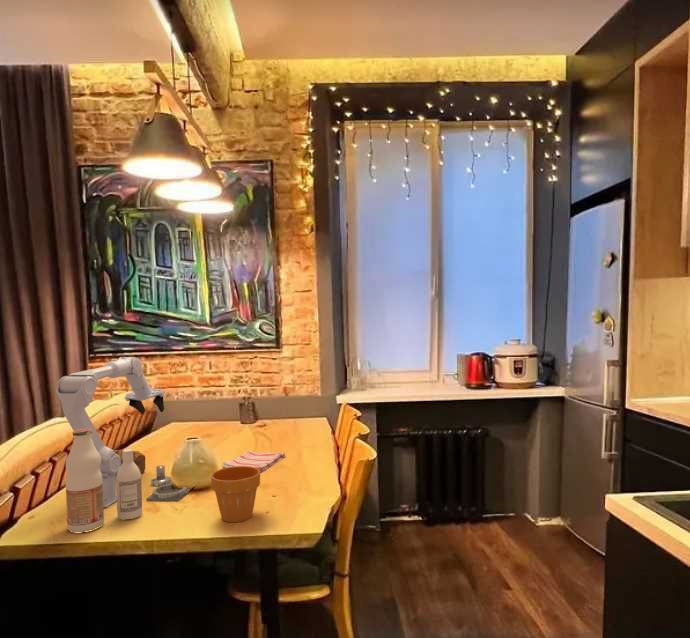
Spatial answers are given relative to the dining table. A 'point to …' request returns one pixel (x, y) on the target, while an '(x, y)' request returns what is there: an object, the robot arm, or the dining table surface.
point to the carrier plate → (168, 493)
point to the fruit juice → (84, 484)
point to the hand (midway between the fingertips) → (153, 411)
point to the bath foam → (128, 488)
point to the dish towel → (255, 460)
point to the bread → (134, 459)
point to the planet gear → (160, 477)
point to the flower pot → (236, 491)
